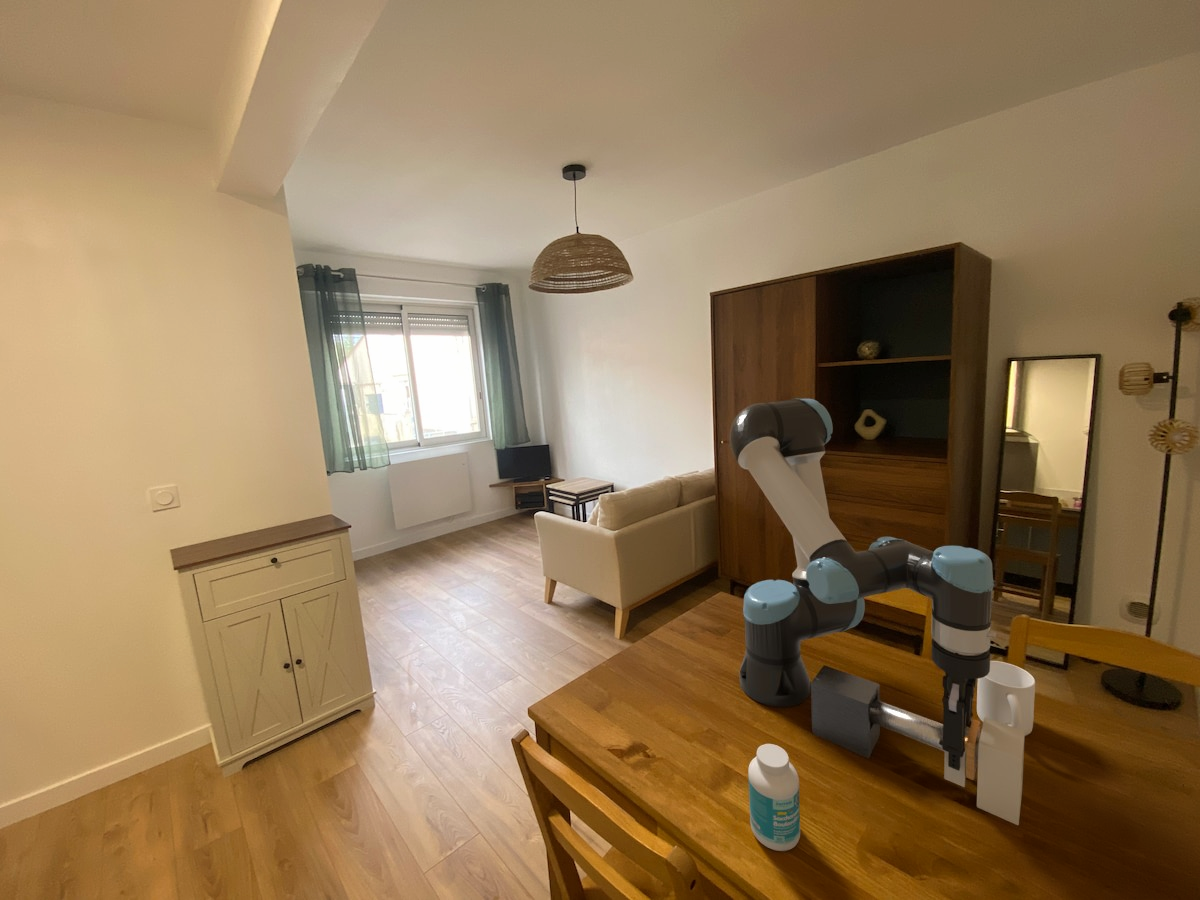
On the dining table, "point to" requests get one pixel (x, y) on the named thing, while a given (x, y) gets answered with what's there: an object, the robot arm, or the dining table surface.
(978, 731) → the tube
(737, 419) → the robot arm
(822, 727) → the sleeve
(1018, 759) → the socket block
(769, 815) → the pill bottle
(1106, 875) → the dining table surface
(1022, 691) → the mug
